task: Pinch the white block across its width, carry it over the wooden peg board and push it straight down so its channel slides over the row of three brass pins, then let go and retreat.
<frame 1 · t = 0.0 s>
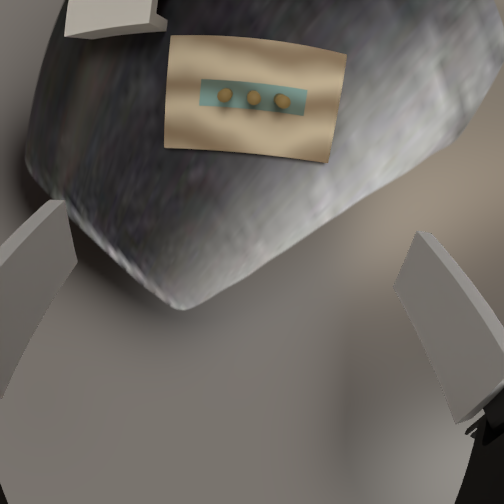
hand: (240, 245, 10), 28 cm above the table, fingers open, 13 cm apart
white block: (130, 11, 25), on the table
wooden peg board: (252, 95, 32), on the table
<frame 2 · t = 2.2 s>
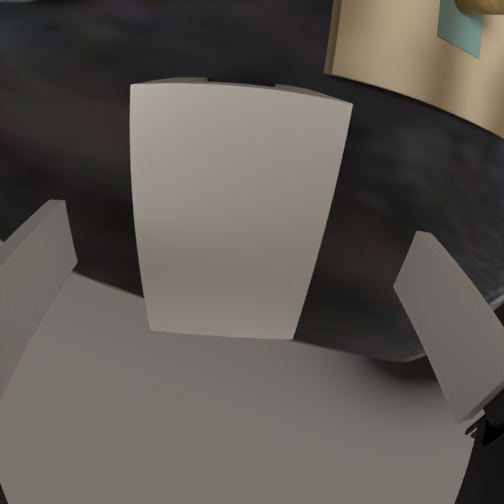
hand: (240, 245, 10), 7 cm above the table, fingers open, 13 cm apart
white block: (232, 171, 16), on the table
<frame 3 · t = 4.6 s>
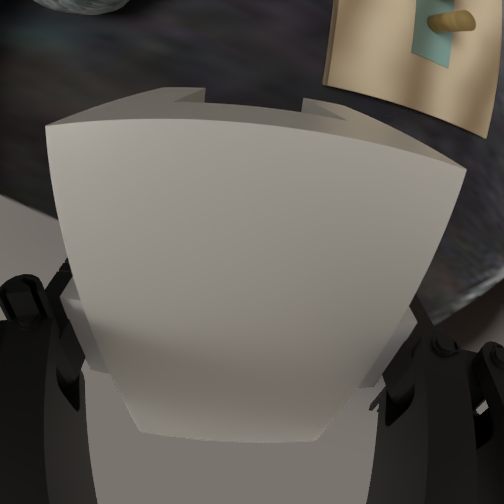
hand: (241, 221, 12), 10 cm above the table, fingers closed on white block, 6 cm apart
white block: (241, 217, 12), point 10 cm above the table, touching gripper
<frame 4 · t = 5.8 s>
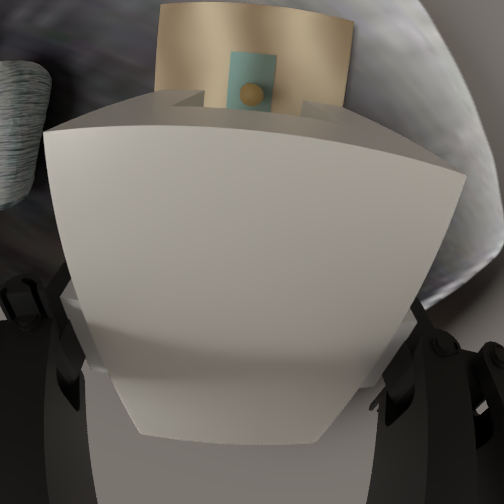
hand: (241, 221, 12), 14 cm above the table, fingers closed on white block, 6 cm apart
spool: (27, 125, 20), on the table
white block: (240, 220, 12), point 13 cm above the table, touching gripper
wooden peg board: (246, 126, 22), on the table
when the fingers open (2 cm above the table, at t = 7.7 s): white block stays where it is, resting on wooden peg board.
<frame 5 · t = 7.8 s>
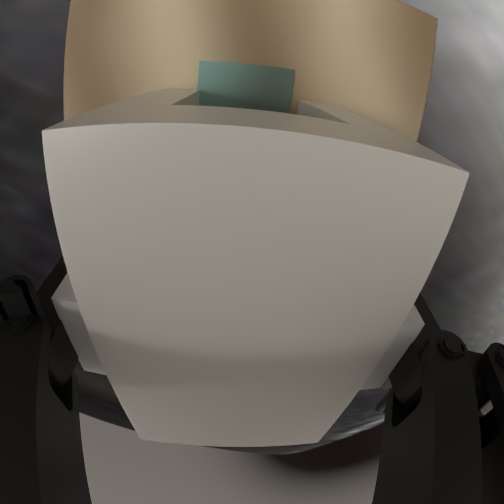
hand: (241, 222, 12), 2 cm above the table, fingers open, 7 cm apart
white block: (236, 220, 12), point 2 cm above the table, touching wooden peg board
wooden peg board: (232, 202, 13), on the table
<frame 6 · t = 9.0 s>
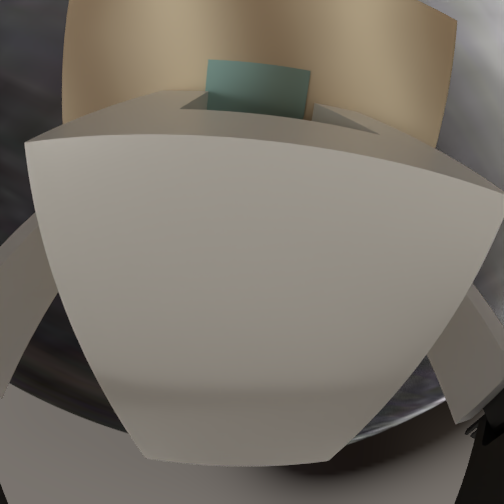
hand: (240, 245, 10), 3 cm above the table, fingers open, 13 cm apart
white block: (246, 231, 11), point 2 cm above the table, touching wooden peg board
wooden peg board: (241, 210, 13), on the table
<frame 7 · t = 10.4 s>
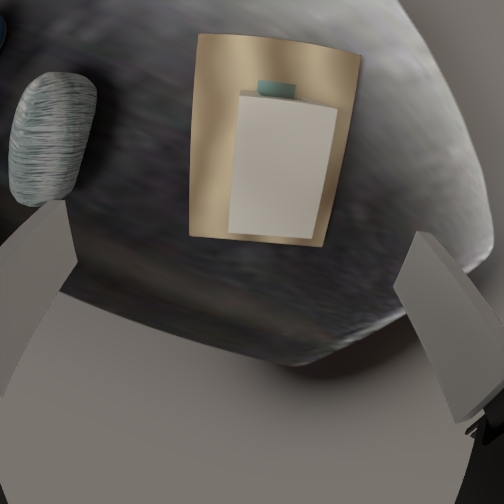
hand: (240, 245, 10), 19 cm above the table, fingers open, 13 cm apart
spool: (69, 129, 26), on the table
white block: (271, 147, 26), point 2 cm above the table, touching wooden peg board
wooden peg board: (267, 142, 27), on the table
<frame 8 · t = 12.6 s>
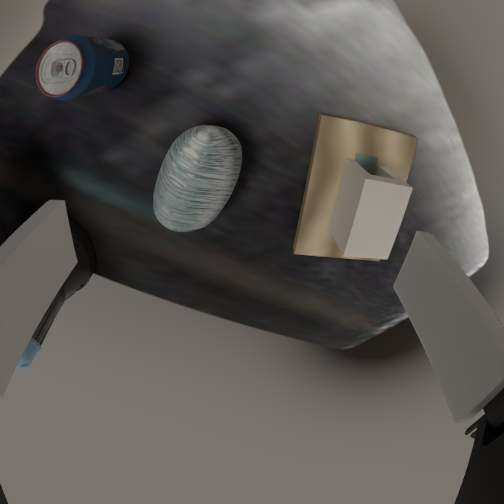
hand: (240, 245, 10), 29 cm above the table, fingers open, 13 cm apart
soda can: (108, 65, 29), on the table
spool: (200, 167, 38), on the table
white block: (358, 197, 39), point 2 cm above the table, touching wooden peg board
wooden peg board: (353, 192, 40), on the table
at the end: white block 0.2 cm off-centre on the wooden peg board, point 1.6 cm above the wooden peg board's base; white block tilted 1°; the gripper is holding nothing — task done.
